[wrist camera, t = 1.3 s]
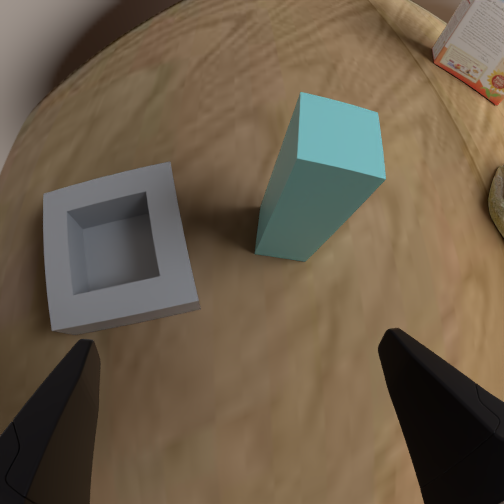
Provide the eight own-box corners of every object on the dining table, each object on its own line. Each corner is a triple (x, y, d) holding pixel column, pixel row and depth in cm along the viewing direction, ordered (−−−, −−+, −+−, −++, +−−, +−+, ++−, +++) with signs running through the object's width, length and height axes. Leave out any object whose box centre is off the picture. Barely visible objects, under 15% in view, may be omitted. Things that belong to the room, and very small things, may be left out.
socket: (175, 188, 26) (170, 161, 22) (200, 309, 23) (198, 300, 19) (63, 215, 24) (43, 194, 20) (75, 334, 21) (51, 330, 17)
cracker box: (491, 88, 40) (551, 18, 20) (496, 107, 38) (564, 34, 18) (430, 46, 40) (483, -38, 20) (432, 63, 38) (493, -30, 18)
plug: (308, 215, 26) (377, 112, 14) (305, 261, 25) (385, 179, 13) (260, 206, 26) (300, 91, 14) (254, 253, 25) (296, 158, 13)
